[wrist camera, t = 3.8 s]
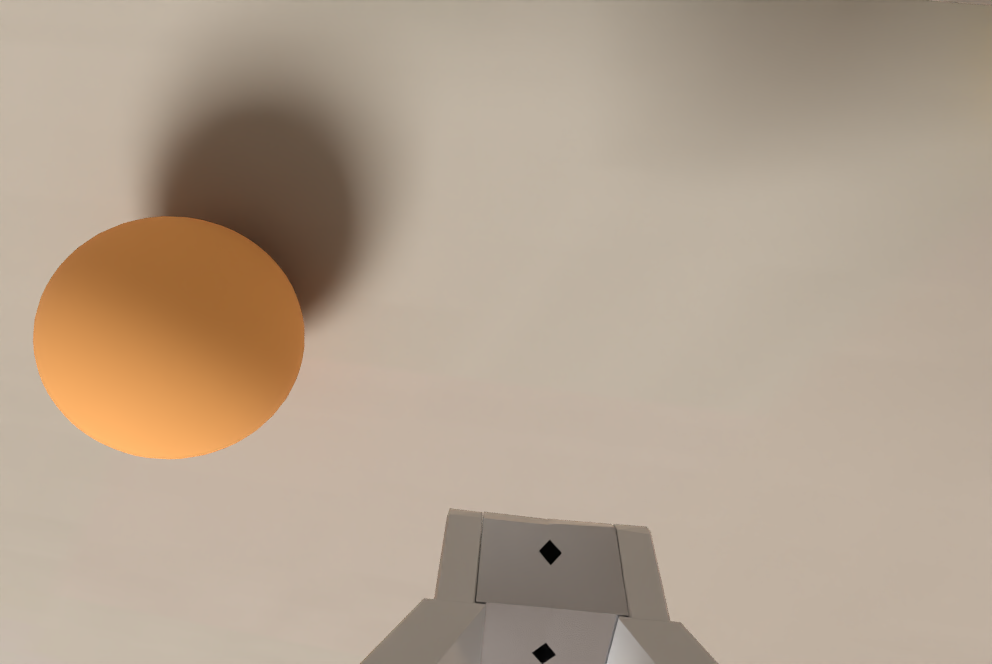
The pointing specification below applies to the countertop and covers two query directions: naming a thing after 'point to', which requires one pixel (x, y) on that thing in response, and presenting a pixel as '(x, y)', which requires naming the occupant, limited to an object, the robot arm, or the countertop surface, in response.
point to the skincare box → (969, 1)
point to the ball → (168, 337)
